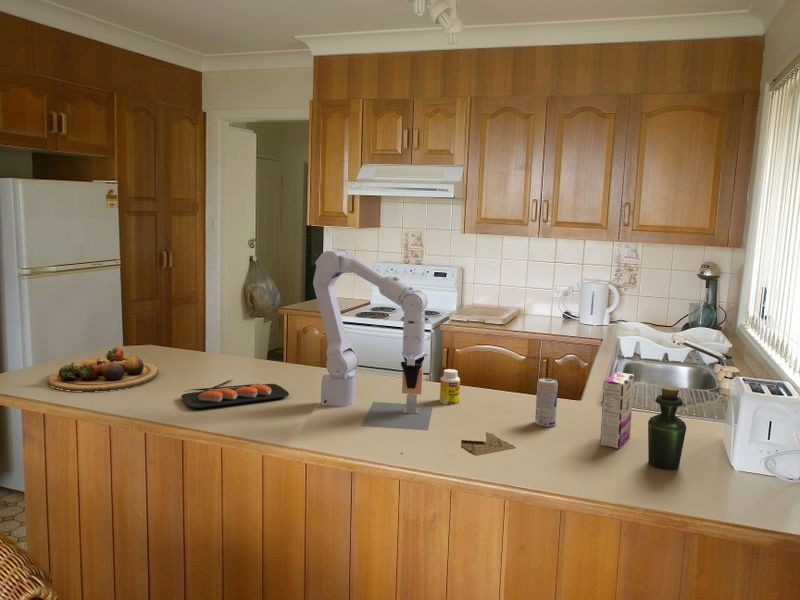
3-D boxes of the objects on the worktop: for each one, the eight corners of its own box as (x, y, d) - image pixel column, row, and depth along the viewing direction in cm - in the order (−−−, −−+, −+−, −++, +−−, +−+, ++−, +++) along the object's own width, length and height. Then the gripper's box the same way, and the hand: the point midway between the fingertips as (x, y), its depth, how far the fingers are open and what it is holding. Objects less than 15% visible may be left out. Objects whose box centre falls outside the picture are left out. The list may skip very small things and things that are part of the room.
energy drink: (556, 422, 179) (559, 379, 177) (554, 428, 174) (557, 384, 172) (536, 419, 181) (538, 376, 179) (533, 425, 176) (536, 381, 174)
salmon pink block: (402, 393, 179) (402, 369, 178) (403, 388, 184) (404, 364, 183) (421, 394, 178) (422, 370, 177) (422, 389, 183) (423, 365, 183)
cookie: (476, 457, 153) (476, 453, 153) (447, 441, 164) (447, 437, 164) (517, 449, 159) (517, 446, 159) (487, 434, 170) (487, 430, 169)
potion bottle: (649, 455, 157) (656, 381, 154) (686, 463, 152) (693, 387, 150) (640, 465, 150) (646, 388, 148) (678, 474, 146) (685, 395, 143)
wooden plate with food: (88, 364, 228) (86, 341, 227) (176, 369, 224) (175, 345, 222) (23, 392, 197) (21, 365, 195) (124, 397, 192) (122, 370, 191)
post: (402, 413, 180) (403, 397, 179) (404, 408, 184) (404, 392, 184) (418, 414, 180) (419, 398, 179) (420, 409, 184) (420, 393, 183)
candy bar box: (610, 432, 172) (615, 371, 169) (630, 436, 169) (635, 374, 167) (598, 445, 162) (603, 380, 160) (619, 449, 160) (624, 383, 157)
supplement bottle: (447, 409, 188) (448, 374, 187) (435, 404, 193) (437, 369, 191) (462, 406, 191) (464, 371, 190) (451, 401, 196) (452, 367, 194)
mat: (360, 429, 169) (361, 425, 169) (373, 405, 190) (373, 401, 190) (427, 433, 167) (427, 430, 167) (432, 408, 188) (432, 405, 188)
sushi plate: (190, 414, 179) (190, 400, 178) (167, 387, 204) (167, 375, 204) (292, 401, 194) (292, 388, 193) (258, 376, 219) (258, 365, 218)
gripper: (426, 342, 171) (424, 393, 173) (430, 331, 186) (428, 379, 188) (399, 341, 172) (398, 391, 174) (405, 330, 186) (403, 377, 188)
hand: (412, 385), depth 181 cm, fingers closed on salmon pink block, 5 cm apart
